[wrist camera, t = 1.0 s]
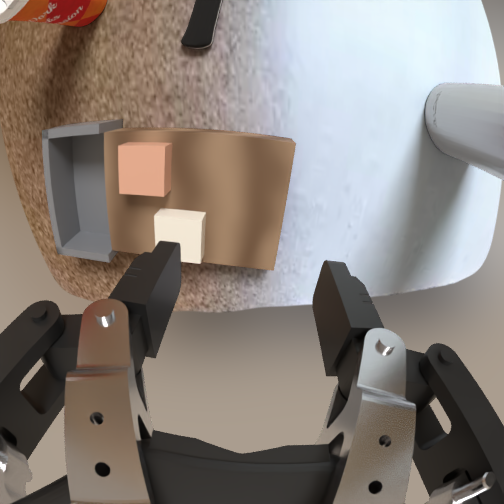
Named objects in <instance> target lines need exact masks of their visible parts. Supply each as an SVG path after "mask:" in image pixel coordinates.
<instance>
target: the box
mask: <svg viewBox="0 0 504 504" xmlns="http://www.w3.org/2000/svg"><path fill="white" fill-rule="evenodd" d="M122 124H123V119H120V120H105V121H93V122H83V123H74V124H67V125H63V126H58V127H54V128H50V129H46V130H42V148H43V164H44V176H45V185H46V193H47V200H48V207H49V213H50V219H51V224H52V230H53V235H54V239H55V244H56V248H57V252H58V254H61V255H67V256H73V257H79V258H85V259H91V260H97V261H103V262H110V261H111V260H112V259H113V258H114V256H115V255H116V254H117V253H118V252H119V251H114V250H112V246H111V239H110V231H109V222H108V213H107V202H106V188H105V168H104V132H108V131H112V130H116V129H121V128H122Z"/></svg>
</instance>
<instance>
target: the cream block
mask: <svg viewBox="0 0 504 504" xmlns="http://www.w3.org/2000/svg"><path fill="white" fill-rule="evenodd" d="M205 223H206V212H198V211H188V210H178V209H167V208H161V209H160V210H159V211H158V212H157V213H156V214H155V215H154V228H155V247H156V245H157V244H158V242H159V241H169V242H178V243H180V246H181V262H189V263H197V264H201V261H202V258H203V256H204V246H205Z"/></svg>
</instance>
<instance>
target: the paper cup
mask: <svg viewBox="0 0 504 504" xmlns="http://www.w3.org/2000/svg"><path fill="white" fill-rule="evenodd" d="M106 3H107V0H0V23H4V22H6V21H8V20H11V21H32V22H43V23H53V24H60V25H68V26H76V27H81V26H85V25H88V24H90V23H91V22H93V21H94V20H95V19H96V18H97V17H98V16H99V15H100V14H101V13H102V11H103V10H104V8H105V6H106Z"/></svg>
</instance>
